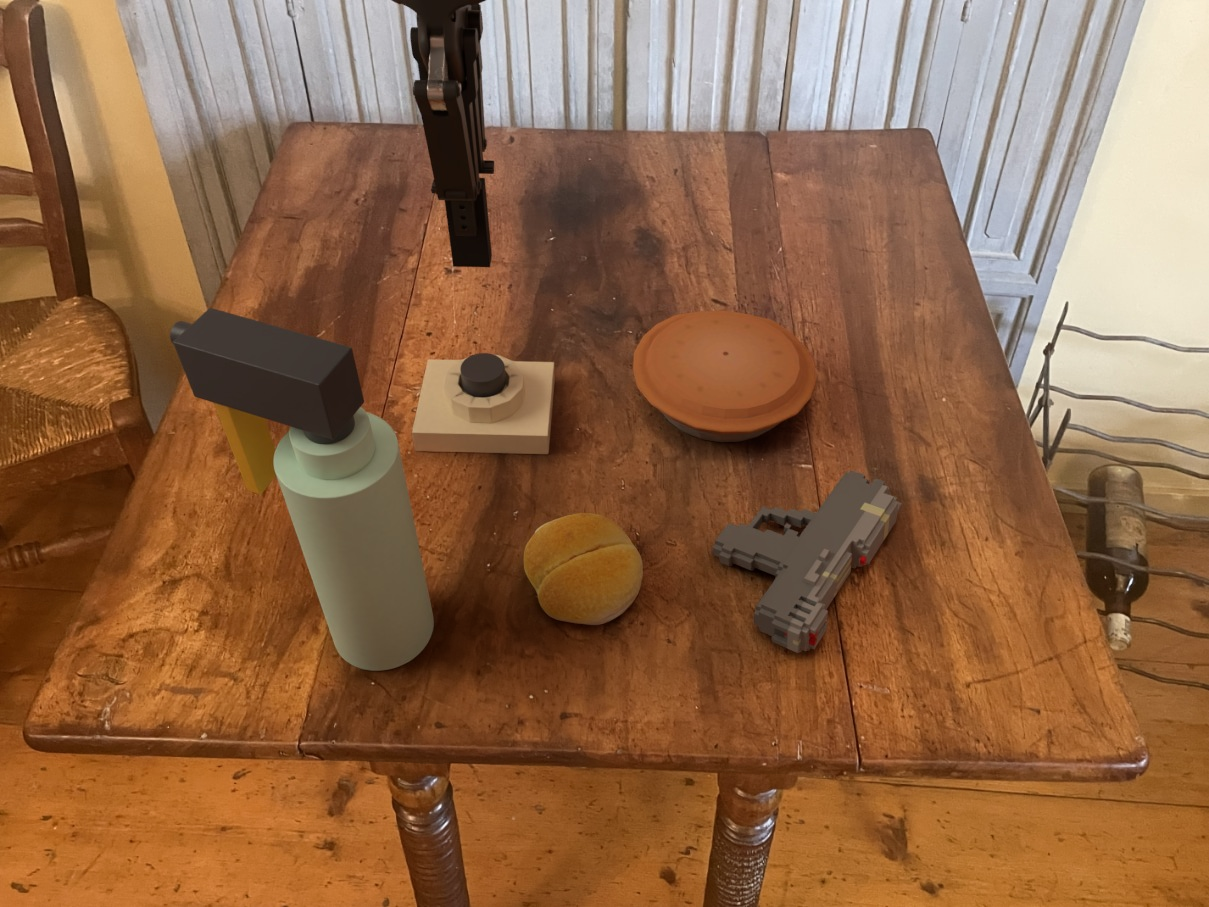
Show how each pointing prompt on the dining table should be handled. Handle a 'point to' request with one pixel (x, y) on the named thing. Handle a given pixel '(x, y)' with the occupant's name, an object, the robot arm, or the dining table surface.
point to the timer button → (483, 375)
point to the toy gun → (810, 555)
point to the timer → (485, 411)
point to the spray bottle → (325, 477)
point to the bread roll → (583, 568)
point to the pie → (723, 374)
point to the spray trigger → (249, 446)
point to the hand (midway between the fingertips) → (472, 260)
